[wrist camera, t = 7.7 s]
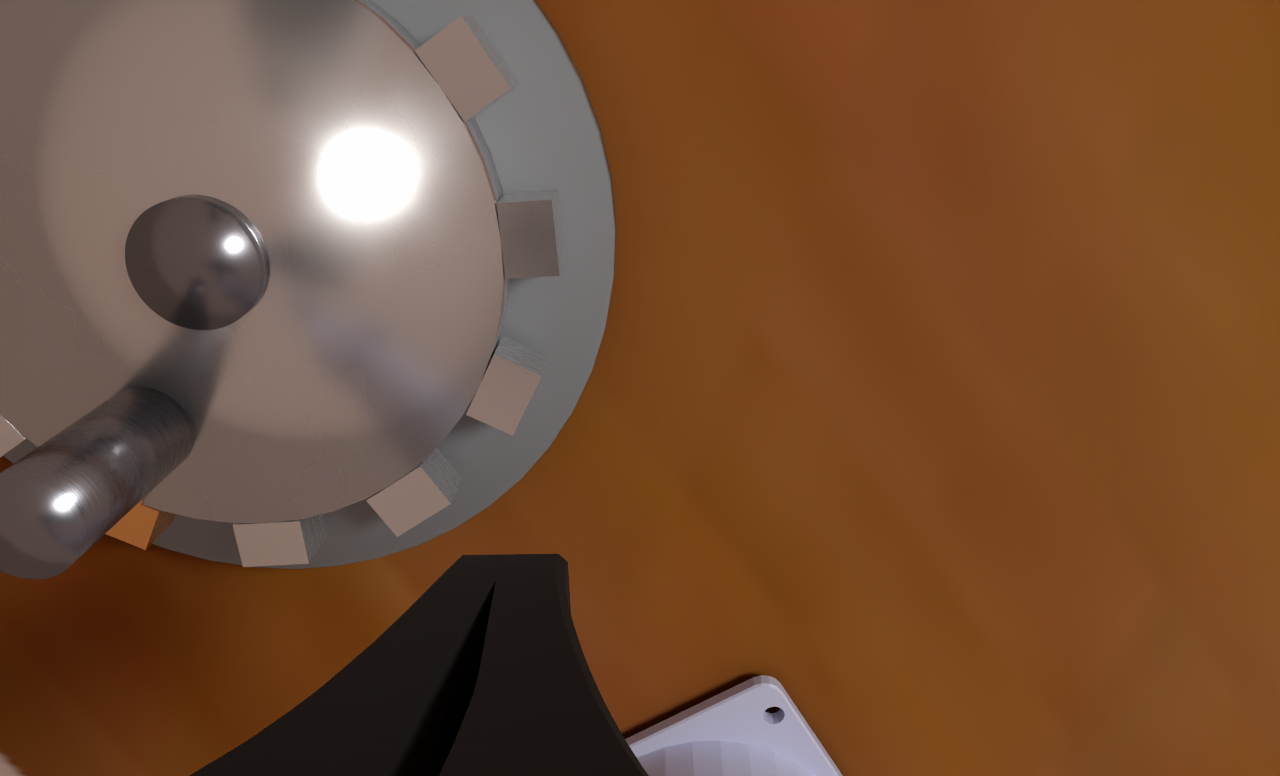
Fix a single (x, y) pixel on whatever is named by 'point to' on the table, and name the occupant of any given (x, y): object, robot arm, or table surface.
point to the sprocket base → (538, 306)
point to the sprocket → (248, 270)
